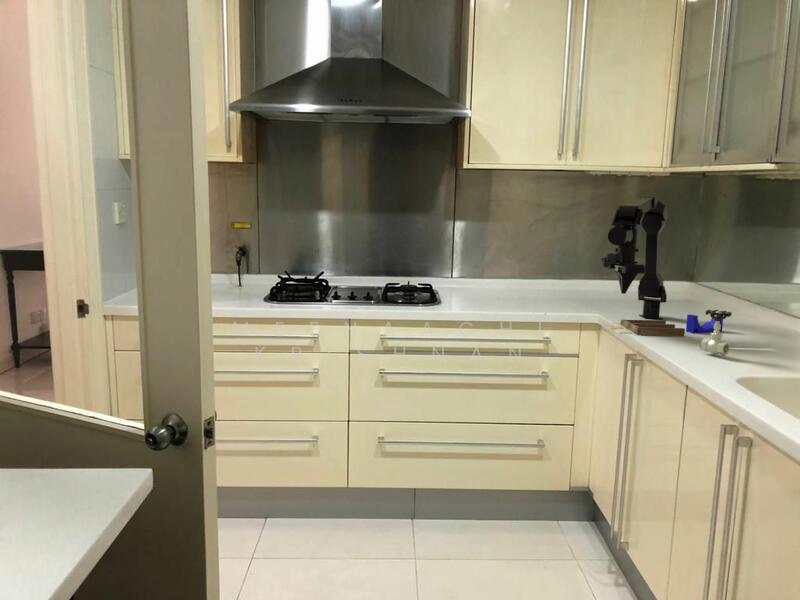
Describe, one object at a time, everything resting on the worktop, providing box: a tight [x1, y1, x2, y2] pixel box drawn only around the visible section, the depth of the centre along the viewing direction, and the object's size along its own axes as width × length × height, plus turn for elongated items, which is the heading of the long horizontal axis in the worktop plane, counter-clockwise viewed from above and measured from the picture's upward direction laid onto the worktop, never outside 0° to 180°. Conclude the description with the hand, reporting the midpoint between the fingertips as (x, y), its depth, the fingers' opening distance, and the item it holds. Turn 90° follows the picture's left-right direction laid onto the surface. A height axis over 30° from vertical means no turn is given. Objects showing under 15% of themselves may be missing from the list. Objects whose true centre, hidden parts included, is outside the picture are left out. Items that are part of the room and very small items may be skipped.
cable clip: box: [685, 313, 724, 334], centre depth 215 cm, size 12×4×6 cm, turn 109°
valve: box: [700, 309, 732, 356], centre depth 181 cm, size 7×7×12 cm
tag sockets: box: [608, 319, 686, 337], centre depth 213 cm, size 15×20×2 cm
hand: (623, 293), depth 209 cm, fingers closed
